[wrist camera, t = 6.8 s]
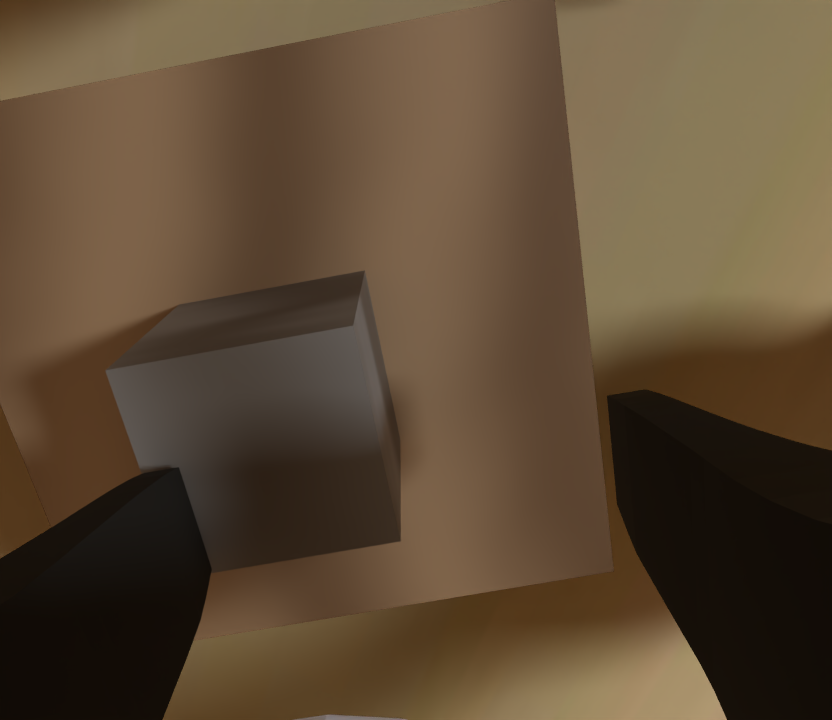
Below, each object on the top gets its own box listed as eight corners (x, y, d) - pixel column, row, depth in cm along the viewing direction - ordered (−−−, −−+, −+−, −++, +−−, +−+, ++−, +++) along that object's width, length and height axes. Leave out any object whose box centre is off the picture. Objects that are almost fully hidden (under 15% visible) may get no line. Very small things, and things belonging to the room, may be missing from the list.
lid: (543, -1, 14) (616, -56, 9) (602, 547, 18) (673, 699, 14) (-82, 123, 15) (-312, 129, 10) (118, 628, 19) (25, 800, 14)
